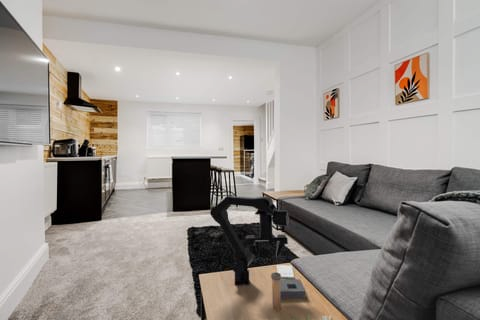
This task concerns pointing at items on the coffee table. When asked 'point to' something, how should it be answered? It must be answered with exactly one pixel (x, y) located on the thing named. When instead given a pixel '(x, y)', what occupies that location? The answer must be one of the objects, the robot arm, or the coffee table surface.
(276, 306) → the plug
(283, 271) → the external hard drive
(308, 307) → the coffee table surface
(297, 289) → the grey peg base
